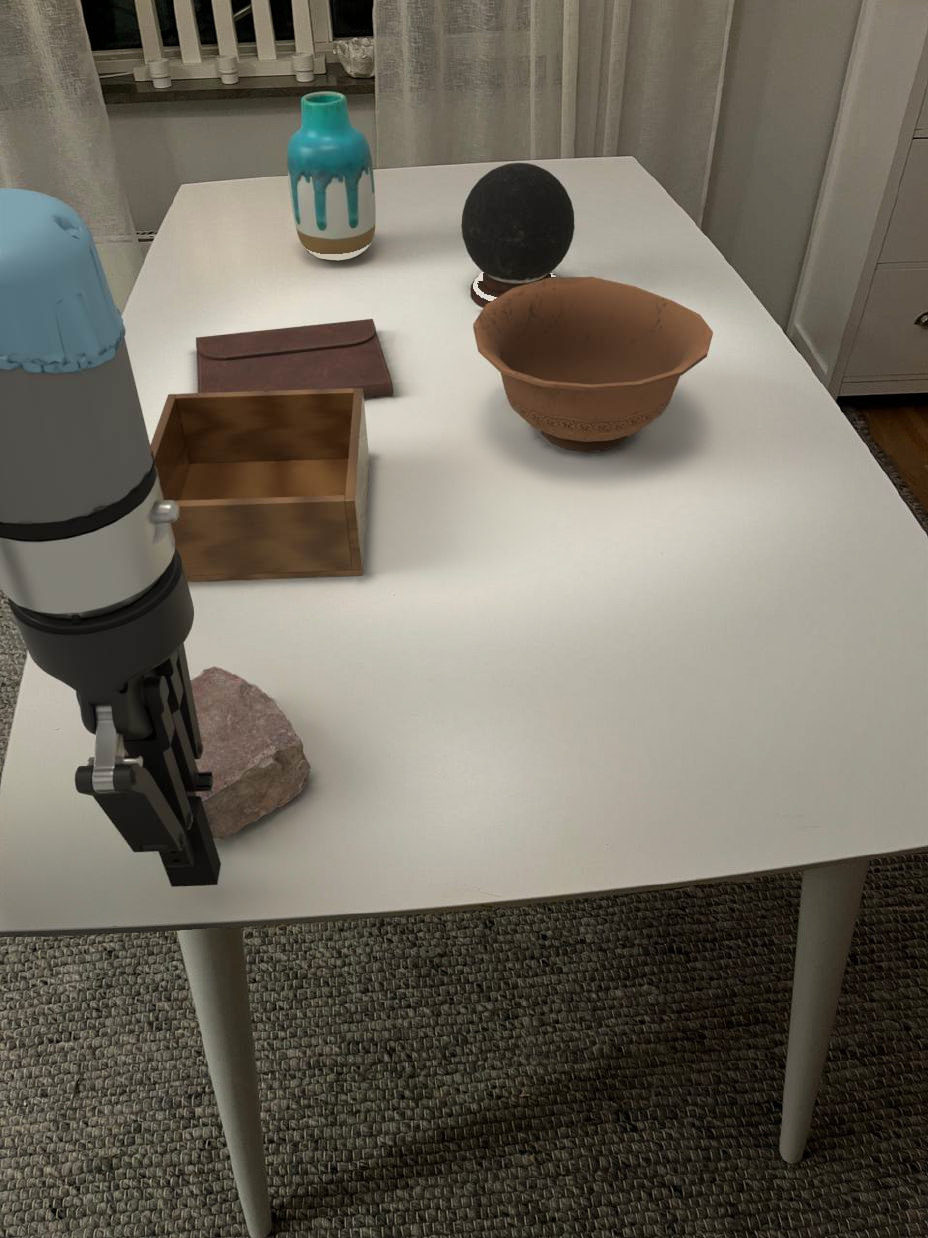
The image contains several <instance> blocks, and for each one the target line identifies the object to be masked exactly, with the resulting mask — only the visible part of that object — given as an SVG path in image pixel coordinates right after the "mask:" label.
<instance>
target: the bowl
mask: <svg viewBox="0 0 928 1238" xmlns="http://www.w3.org/2000/svg"><path fill="white" fill-rule="evenodd" d="M472 330H473V333H474V338H475V343H476V347H477V348H476V349H477V352H478V353H479V354H480V355H481V356H482V357H483V358H485V360H486V361H487V362H489V363H490V364H491V365H492V366H493V367H494V368H495V369H496V370H497V371H498V372H499V373H500V376H501V380H502V381H501V382H502V384H503V385H502V386H503V389H504V392H505V396H506V399H507V401H508V403H509V406H510V407H511V409H512V410H513V411H514V412H515V413H516V414H518V416H520V418H522V419H523V421H525V422H526V423H527V424H528V425H529V426H531V428H534V429H536V430H538V431H540V434H541V435H542V436H543V437H544V438H545V439H546V440H548V441H549V443H551V444H553V445H555V446H557V447H560V448H562V449H565V450H568V451H575V452H581V453H591V452H602V451H605V450H609V449H612V448H615V447H618V446H619V445H621V443H623V442H624V441H626V440H627V439H628V438H629V435H633V434H636V433H638V432H641V431H642V430H644V429H645V428H646V427H647V426H649V425H650V424H652V423H653V422H654V421H656V419H658V418H659V417H660V416H661V415H662V414H663V413H664V412H665V411H666V409H667V408H668V406H669V404H670V402H671V401H672V398H673V396H674V393H675V390H676V387H677V385H678V382H679V380H680V378H681V376H683V375H685V374H686V373H688V371H690V370H691V369H693V368H694V367H695V366H696V365H698V364H699V363H700V362H702V361H704V359H706V358H707V357H708V353H709V350H710V346H711V342H712V340H713V339H712V338H713V335H714V331H713V330H712V328H711V327H710V326H709V325H708V323H707V321H706V320H705V319H704V318H703V316H702V315H701V314H700V313H697V312H696V311H694V310H692V309H689V308H687V307H686V306H684V305H682V304H680V303H678V302H676V301H674V300H672V299H670V298H667V297H664V296H661V295H659V294H656V293H653V292H651V291H648V290H647V289H646V290H645V289H642V288H641V287H638V286H635V285H631V284H626V283H621V282H618V281H613V280H609V279H603V278H599V277H596V276H595V277H594V276H560V277H559V276H557V277H550V278H547V279H543V280H539V281H536V282H532V283H529V284H525V285H522V286H518V287H514V288H512V289H510V290H509V291H507V292H506V293H504V294H502V295H501V296H499V297H497V298H496V299H494V300H493V301H491V302H489V303H488V304H486V305H485V307H484V308H482V310H481V311H480V313H479V314H478V316H477V318H476V319H475V320H474V322H473V324H472Z"/></svg>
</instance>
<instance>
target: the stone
mask: <svg viewBox="0 0 928 1238" xmlns="http://www.w3.org/2000/svg"><path fill="white" fill-rule="evenodd" d="M190 680H191V686H192V692H193V697H194V703H195V708H196V714H197V719H198V725H199V731H200V736H201V742H202V744H203V754H202V755H201V758H200V759H195V762H196V765H197V769H198V772H212V775H213V786H212V790H211V791H199V792H196V796H200V797H201V800H202V803H203V806H204V810H205V813H206V816H207V820H208V823H209V826H210V829H211V833H212V836H213V839H221V840H224V839H225V838H227V837H228V836H233V835H234V834H235V833H238V831H241V829H242V828H243V827H244V826H246V825H248V824H251V823H254V822H257V821H258V820H259V819H260V818H261V817H262V816H265V815H267V814H268V815H269V814H271V813H272V812H273V811H274V810H275V809H277V808H281V807H283V806H284V805H286V804H287V803H288V802H291V801H292V800H294V799H295V798H296V796H297V795H298V794H300V793H302V792H303V790H305V789H304V788H305V786H306V784H307V783H308V781H309V774H310V773H311V770H310V769H311V765H310V762H309V761H308V759H307V758H306V755H305V752H304V744H303V742H302V739H301V737H300V736H299V735H297V731H296V730H295V729H294V727H293V724H292V723H291V721H290V720H289V718H288V717H287V716H286V713H285V712H284V711H283V710H282V709H281V708H279V707H278V703H277V702H276V701H275V699H273V698H272V697H270V696H268V694H267V693H266V692H264V690H263V689H261V688H260V687H259V686H258V685H256V684H254V683H250V682H248V681H247V680H245V679H244V678H242V677H240V676H239V675H237V674H236V673H231V672H230V671H228V670H225V669H223V668H221V667H218V666H212V667H210V668H205V669H203V670H202V671H201V672H200V673H199V675H197V676H195V677H194V678H192V679H190Z"/></svg>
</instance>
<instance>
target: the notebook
mask: <svg viewBox="0 0 928 1238" xmlns="http://www.w3.org/2000/svg"><path fill="white" fill-rule="evenodd" d="M381 345H382V344H381V342H380V339H379V336H378V333H377V327H376V324H375V322H374V319H373V318H365V319H357V320H348V321H338V322H330V323H329V322H328V323H321V324H320V323H318V324H310V325H301V326H290V327H281V328H271V329H264V330H253V331H252V330H251V331H245V332H244V331H243V332H234V333H227V334H224V333H223V334H217V335H206V336H197V337H195V349H196V377H197V380H196V381H197V393H217V392H249V391H281V390H313V389H344V388H363V395H364V400H366V399H375V398H383V397H384V398H385V397H393V396H394V385H393V380H392V376H391V374H390V370H389V367H388V364H387V361H386V358H385V355H384V352H383V349H382V346H381Z"/></svg>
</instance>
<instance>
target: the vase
mask: <svg viewBox="0 0 928 1238" xmlns="http://www.w3.org/2000/svg"><path fill="white" fill-rule="evenodd" d="M300 106H301V107H300V110H301V126H300V129H298V130H297V131H295V132H294V133H293V134H292V135H291V136H290V138H289V141H288V144H287V151H286V162H287V163H286V165H287V178H288V179H287V180H288V188H289V196H290V197H289V198H290V204H291V211H292V216H293V220H294V225H295V229H296V233H297V237H298V240H299V242H300V243H301V245H302V246H303V248H304V247H305V248H306V249H308V250H310V251H312V252H316V253H320V254H343V253H350V252H354V251H357V250H360V249H362V248H364V247H366V246H367V245H369V244H370V243H371V242H373V240H374V237H375V234H376V233H375V232H376V214H377V213H376V206H377V205H376V189H375V188H376V187H375V175H374V165H373V159H372V153H371V148H370V144H369V142H368V140H367V137H366V135H365V134H364V133H363V132H362V131H361V129H358V128H357V127H355V126H353V125H352V123H351V120H350V115H349V108H348V101H347V97H346V96H345V94H343V93H341V92H337V91H316V92H311V93H307V94H305V95H303V96H302V97H301V100H300ZM371 244H372V243H371ZM305 248H304V249H305ZM306 249H305V250H306Z"/></svg>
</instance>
